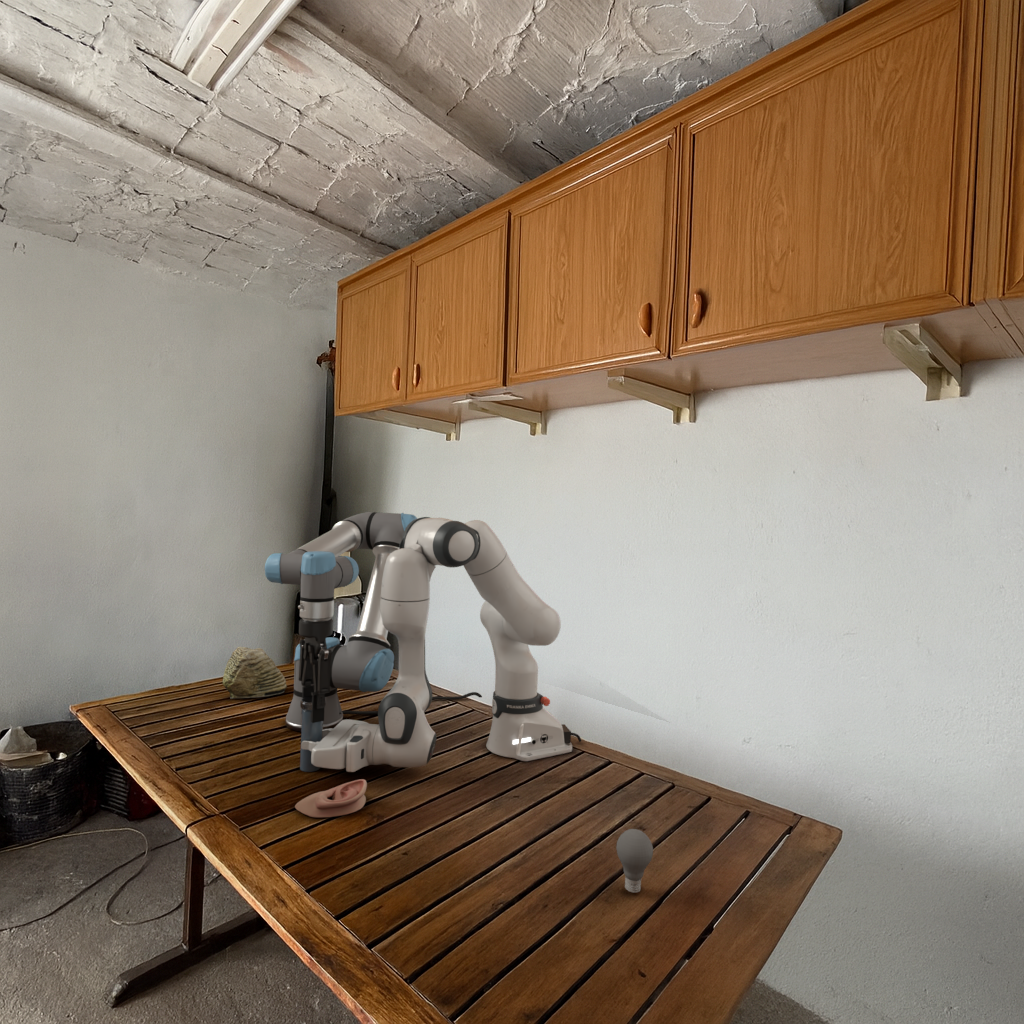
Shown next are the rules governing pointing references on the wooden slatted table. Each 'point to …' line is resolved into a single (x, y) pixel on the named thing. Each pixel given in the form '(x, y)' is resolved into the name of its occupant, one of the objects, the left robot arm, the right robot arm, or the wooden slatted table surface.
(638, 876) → the light bulb
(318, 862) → the wooden slatted table surface
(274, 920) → the wooden slatted table surface
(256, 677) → the fossil
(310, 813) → the anatomical model
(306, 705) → the lid
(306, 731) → the jar
